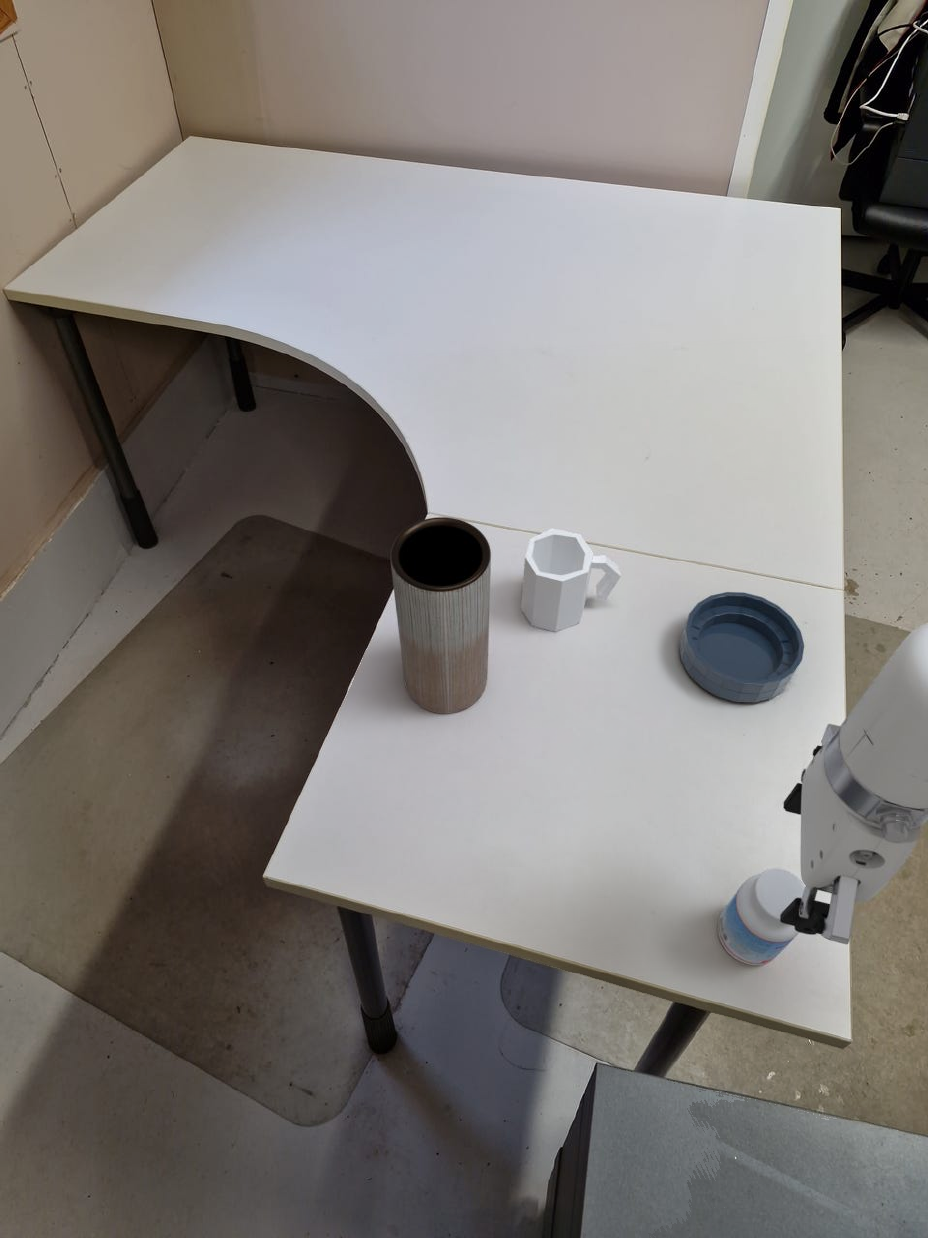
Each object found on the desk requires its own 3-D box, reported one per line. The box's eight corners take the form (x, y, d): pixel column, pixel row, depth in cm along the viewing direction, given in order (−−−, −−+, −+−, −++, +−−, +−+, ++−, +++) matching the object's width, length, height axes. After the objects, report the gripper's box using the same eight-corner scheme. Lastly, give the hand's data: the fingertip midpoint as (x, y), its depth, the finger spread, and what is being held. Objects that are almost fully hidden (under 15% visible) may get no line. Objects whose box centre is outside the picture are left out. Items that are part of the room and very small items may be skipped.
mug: (524, 633, 103) (529, 583, 95) (517, 581, 108) (520, 529, 101) (619, 628, 104) (631, 577, 96) (607, 576, 109) (617, 524, 101)
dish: (758, 604, 106) (768, 582, 102) (813, 690, 98) (826, 669, 94) (661, 627, 104) (667, 605, 100) (708, 716, 96) (717, 695, 92)
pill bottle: (772, 978, 78) (811, 942, 69) (709, 949, 80) (739, 910, 71) (786, 919, 81) (824, 878, 72) (725, 893, 83) (755, 849, 74)
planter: (391, 700, 97) (373, 574, 79) (423, 636, 103) (413, 505, 85) (470, 725, 95) (470, 602, 77) (498, 659, 101) (504, 529, 83)
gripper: (962, 912, 48) (850, 987, 61) (937, 673, 58) (846, 782, 71) (829, 879, 49) (748, 960, 62) (827, 650, 59) (758, 762, 73)
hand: (800, 865), depth 67 cm, fingers open, 9 cm apart
